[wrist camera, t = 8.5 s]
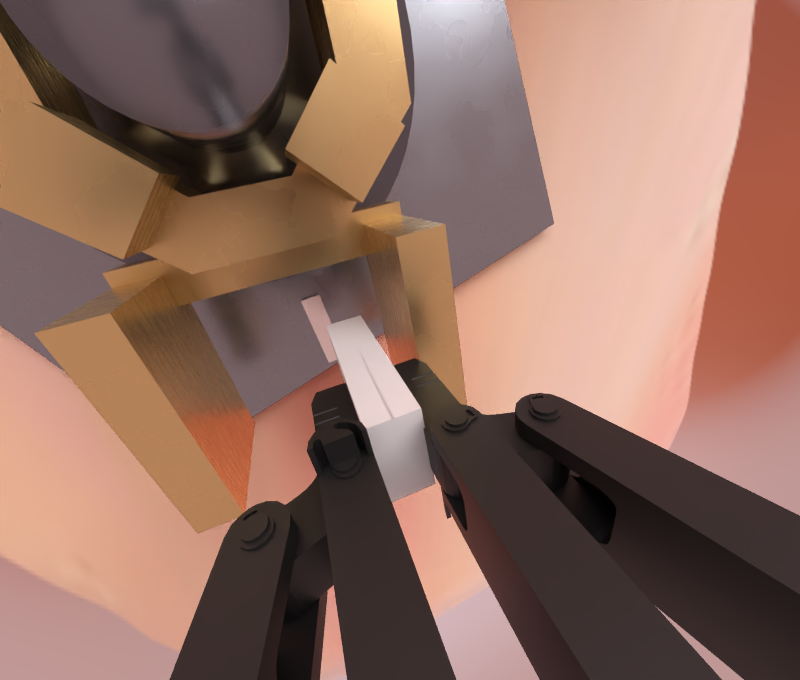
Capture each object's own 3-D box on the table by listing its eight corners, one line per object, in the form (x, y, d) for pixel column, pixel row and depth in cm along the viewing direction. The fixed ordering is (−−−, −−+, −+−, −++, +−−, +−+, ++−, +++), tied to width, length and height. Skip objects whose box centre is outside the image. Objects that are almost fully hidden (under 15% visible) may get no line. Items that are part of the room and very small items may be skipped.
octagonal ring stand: (-239, -263, 6) (-1422, -1296, 2) (325, -239, 8) (374, -691, 4) (209, 438, 15) (181, 540, 11) (429, 360, 17) (480, 418, 13)
